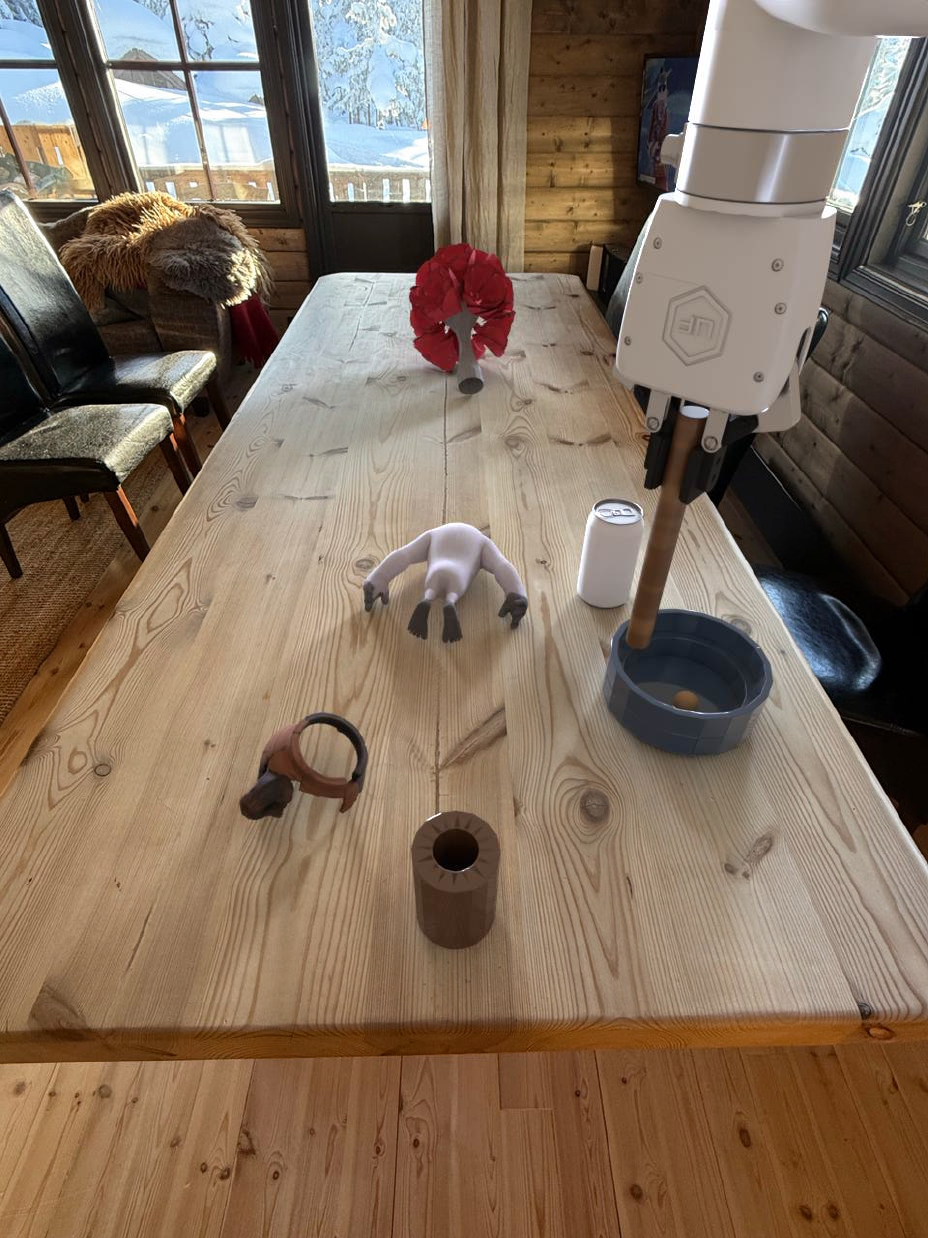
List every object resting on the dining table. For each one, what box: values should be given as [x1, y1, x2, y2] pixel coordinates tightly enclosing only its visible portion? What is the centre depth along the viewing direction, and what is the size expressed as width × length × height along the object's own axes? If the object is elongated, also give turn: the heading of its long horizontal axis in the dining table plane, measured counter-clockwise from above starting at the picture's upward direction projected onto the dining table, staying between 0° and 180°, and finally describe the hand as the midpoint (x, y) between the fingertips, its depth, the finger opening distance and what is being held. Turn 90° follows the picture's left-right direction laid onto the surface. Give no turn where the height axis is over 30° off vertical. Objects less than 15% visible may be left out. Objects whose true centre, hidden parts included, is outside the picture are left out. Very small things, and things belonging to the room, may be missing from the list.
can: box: [576, 497, 645, 609], centre depth 78 cm, size 6×6×12 cm
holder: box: [410, 809, 502, 950], centre depth 49 cm, size 6×6×9 cm
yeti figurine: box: [362, 522, 529, 644], centre depth 80 cm, size 20×7×20 cm
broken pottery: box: [238, 711, 369, 821], centre depth 58 cm, size 12×10×8 cm
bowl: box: [602, 607, 774, 757], centre depth 67 cm, size 15×15×6 cm
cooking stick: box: [626, 405, 709, 649], centre depth 48 cm, size 2×2×20 cm
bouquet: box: [408, 242, 517, 396], centre depth 131 cm, size 22×24×30 cm
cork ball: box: [673, 691, 699, 712], centre depth 66 cm, size 2×2×2 cm
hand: (676, 487), depth 46 cm, fingers closed on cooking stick, 2 cm apart
